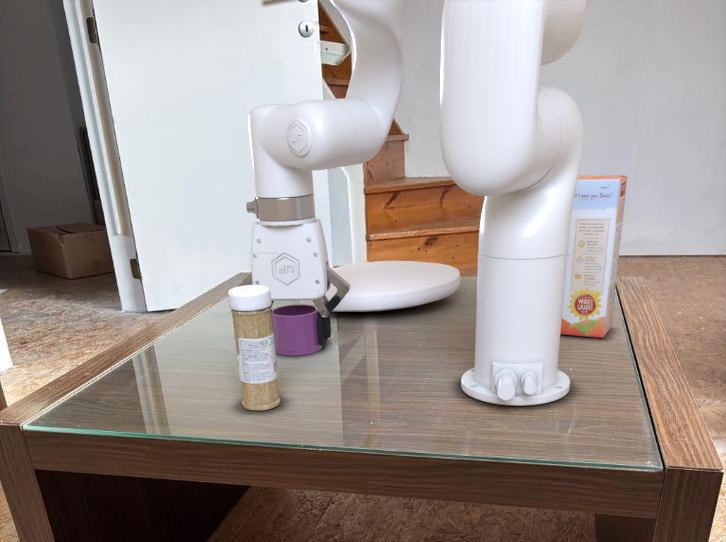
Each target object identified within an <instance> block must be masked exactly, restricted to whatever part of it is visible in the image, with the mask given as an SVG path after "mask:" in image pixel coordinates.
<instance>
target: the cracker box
mask: <svg viewBox="0 0 726 542" xmlns="http://www.w3.org/2000/svg"><path fill="white" fill-rule="evenodd" d="M627 182H628V176H627V175H626V174H621V175H619V174H618V175H579V176H578V181H577V185H576V190H575V195H574V201H573V208H572V216H571V224H570V235H569V246H568V252H567V263H566V275H565V286H564V298H563V310H562V321H561V333H560V335H564V336H566V335H567V336H575V337H576V336H577V337H585V338H586V337H587V338H597V339H599V338H600V339H604V337H605V336H606V335H607V333H608V332H609V331H610V329H612V323H613V312H614V303H615V295H616V288H617V287H616V285H617V279H618V278H617V277H618V268H619V258H620V249H621V239H622V231H623V223H624V213H625V205H626V204H625V203H626V193H627V185H628V183H627Z"/></svg>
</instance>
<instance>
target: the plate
mask: <svg viewBox="0 0 726 542" xmlns="http://www.w3.org/2000/svg"><path fill="white" fill-rule="evenodd" d="M331 269H332V270H333V271H335V272H336V273H337V274H338V275H339V276H341V277H342V278H343V279H344V280H345V281H347V282H348V283H349V284H350V285H351V289H350V290H349V292H348V293H347V294H346V295H345V297H344V298H343V299H342V300H341V302H340V303H339V304H338V305H337V306H336V308H335V309H334V310H333V311H332V312H341V313H343V312H344V313H345V312H349V313H351V312H353V313H355V312H357V313H359V312H381V311H390V310H399V309H407V308H412V307H418V306H422V305H425V304H429V303H433V302H436V301H440V300H444V299H446V298H447V297H450V296H451V295H453V294H454V293H455V292H456V291H458V289H459V287H460V284H461V281H462V279H461V272H460V270H459V269H458V268H456V267H455V266H452V265H450V264H444V263H439V262H428V261H427V262H426V261H415V260H380V261H379V260H377V261H369V262H359V263H352V264H346V265H342V266H338V267H333V268H331ZM336 292H337V288H336V287H335V286H334V285H333V284H332V283H330V289H329V290H328V291H326V294H325V295H326V297H327V298H328V300H329V301H330V300H331V298H332V297H333V296H334V295H335V294H336ZM299 303H300V304H306V305H314V306H315V304H314V302H313V301H312V300H300V301H299Z"/></svg>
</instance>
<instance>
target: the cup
mask: <svg viewBox="0 0 726 542" xmlns="http://www.w3.org/2000/svg"><path fill="white" fill-rule="evenodd" d="M318 317H319V311H318V309H317V308H316V306H314V305H306V304H302V303H300V304H298V303H297V304H287V305H282V306H278V307H275V308H273V309H272V308H271V318H272V327H273V333H274V342H275V352H276V354H278V355H281V356H289V357H292V356H293V357H297V356H299V357H300V356H307V355H311V354H314V353H317V352H319V351H321V349H322V348H323V346H320V345H319V342H318V328H317V318H318Z"/></svg>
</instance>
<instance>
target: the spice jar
mask: <svg viewBox="0 0 726 542" xmlns="http://www.w3.org/2000/svg"><path fill="white" fill-rule="evenodd" d="M227 297H228V305H229V308H230V312H231V316H232V324H233V333H234V341H235V349H236V351H235V352H236V363H237V370H238V378H239V379H238V380H239V381H240V391H241V399H242V400H241V405H242V407H243V408H245V409H246V410H249V411H260V412H261V411H268V410H272V409H274V408H276V407H278V406H279V405H280V404H281V400H282V399H281V396H280V390H279V382H278V381H279V380H278V376H279V373H278V363H277V353H276V352H275V342H274V333H273V327H272V318H271V310H272V308H271V304H272V301H271V293H270V289H269V288H268V287H267V286H263V285H245V286H239V287H237V286H235V287H232V288H231V289H229V290H228V291H227Z"/></svg>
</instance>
